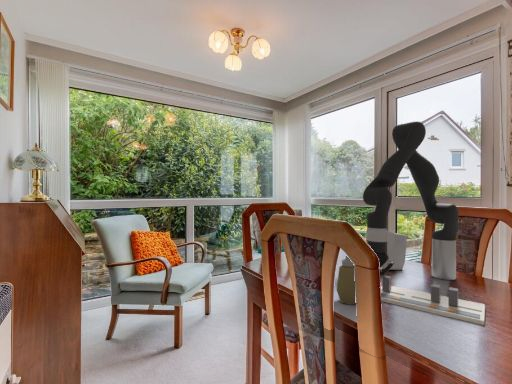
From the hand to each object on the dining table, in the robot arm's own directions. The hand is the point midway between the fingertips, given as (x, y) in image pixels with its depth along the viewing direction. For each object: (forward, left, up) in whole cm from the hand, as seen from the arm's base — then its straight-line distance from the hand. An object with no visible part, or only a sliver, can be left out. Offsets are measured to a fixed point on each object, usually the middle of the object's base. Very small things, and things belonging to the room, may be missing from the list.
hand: (376, 284), depth 110 cm
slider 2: (0, +25, -1) cm, 25 cm away
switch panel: (0, +17, -3) cm, 17 cm away
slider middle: (0, +20, -1) cm, 20 cm away
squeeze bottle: (+16, -4, -3) cm, 17 cm away
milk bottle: (-18, -12, -3) cm, 22 cm away
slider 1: (0, +4, -1) cm, 4 cm away
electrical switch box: (-43, -6, -3) cm, 43 cm away
